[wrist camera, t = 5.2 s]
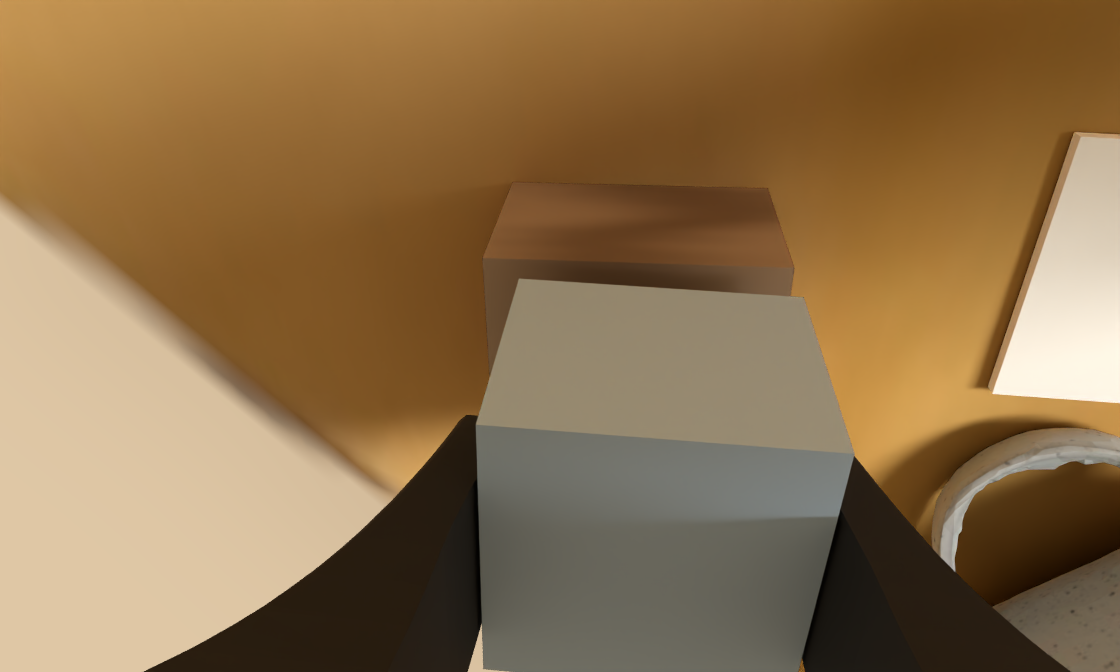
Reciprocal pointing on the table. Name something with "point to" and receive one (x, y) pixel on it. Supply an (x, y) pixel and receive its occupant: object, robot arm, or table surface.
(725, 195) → the base brick
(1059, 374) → the page
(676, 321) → the blue brick
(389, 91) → the table surface
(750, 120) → the table surface
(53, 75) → the table surface
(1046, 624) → the ceramic mug
